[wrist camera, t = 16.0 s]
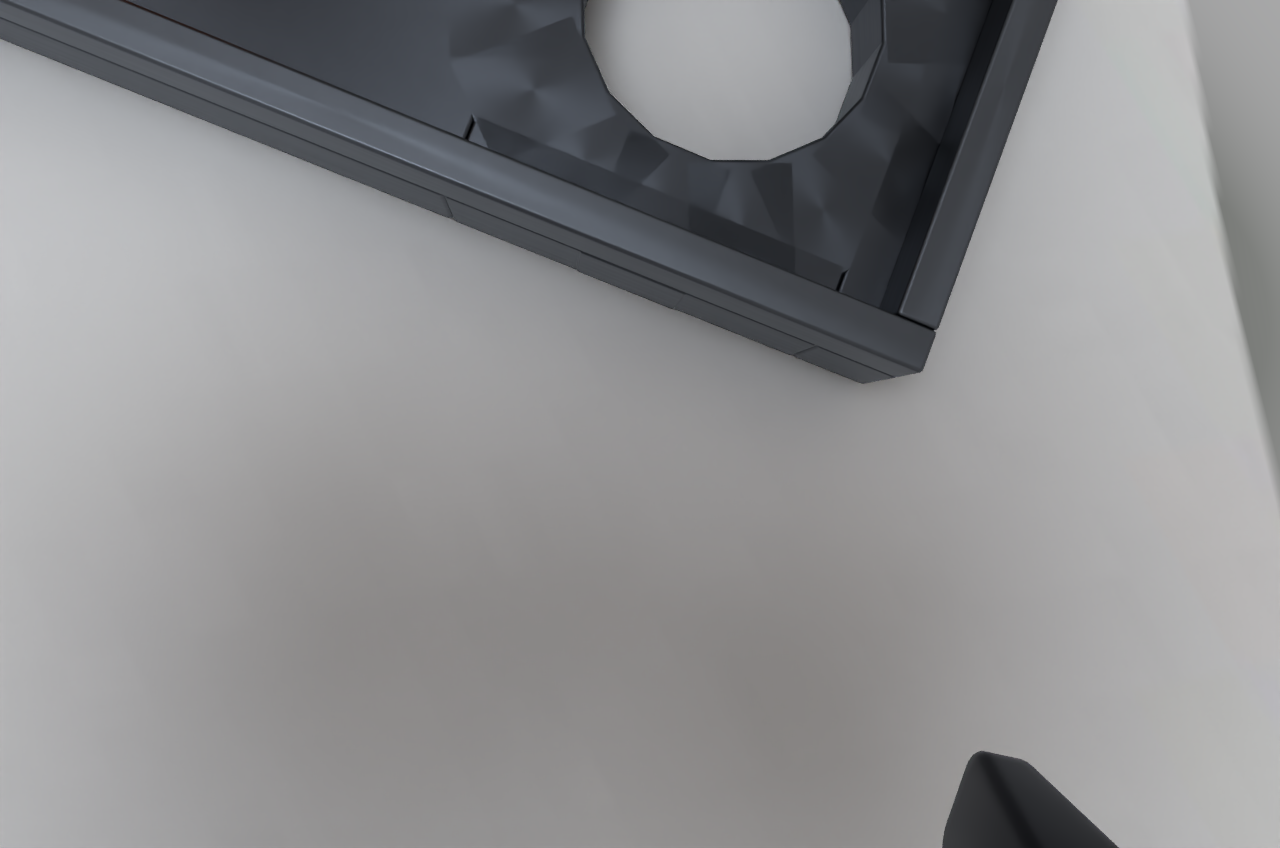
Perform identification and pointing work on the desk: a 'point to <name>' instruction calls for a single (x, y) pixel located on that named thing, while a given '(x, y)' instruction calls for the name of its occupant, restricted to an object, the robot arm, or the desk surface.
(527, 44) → the sink
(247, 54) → the sink rim
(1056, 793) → the robot arm
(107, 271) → the desk surface
